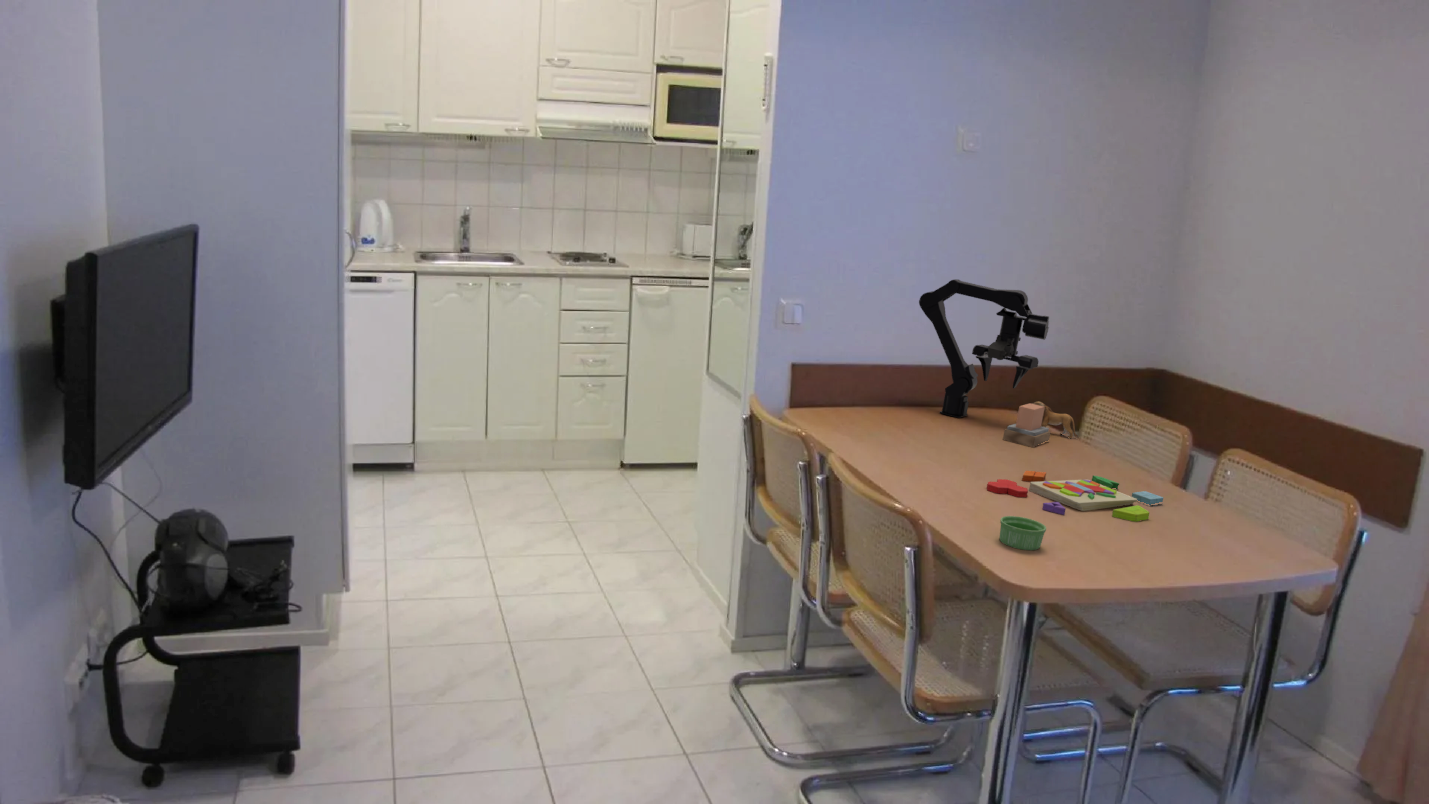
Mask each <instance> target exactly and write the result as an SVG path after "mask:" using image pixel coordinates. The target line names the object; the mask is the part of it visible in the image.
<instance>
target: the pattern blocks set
mask: <svg viewBox="0 0 1429 804" xmlns="http://www.w3.org/2000/svg"><path fill="white" fill-rule="evenodd" d="M1046 476H1047V472H1043V471H1033V470H1025V471H1024V472H1023V474H1022V478H1021V481H1022V482H1028V483H1030V484H1029V488H1028V487H1024V486H1020V485H1018V482H1017V481H1014V480H1010V479H1006V478H1005V479H1000V478H999V479H997V480H996V481H987V484H986V489H987V491H988V492H990V493H994V494H998V495H999V494H1000V495H1006V494H1007V495H1010V496H1012V497H1015V498H1028V493H1029V492H1031V493H1034V494H1036V495H1038V496H1041V497H1044V498H1047V499H1049V500H1052V501H1053V502H1052V501H1051V502H1043V503H1042V510H1043V511H1046V512H1050V513H1055V514H1058V515H1061V516H1065V514H1066V507H1064V506H1063V505H1065V506H1067V507H1070V508H1073V509H1074V510H1075V509H1076V510H1078V511H1081V512H1089V511H1095V510H1102V509H1109V508H1111V509H1112V508H1114V509H1112V512H1111V513H1112V515H1111V517H1112V518H1117V519H1122V520H1126V521H1130V522H1135V523H1137V522H1141V521H1140V520H1143V521H1147V520H1146V519H1148V520H1149V517H1150V512H1149V511H1148V510H1147V509H1146V508H1143V507H1142V506H1140V505H1134V504H1135V503H1137V502H1136V501H1137V500H1138V501H1140V502H1144V503H1146V504H1149V505H1151V504H1155V503H1159V502H1163V501H1164V497H1163V496H1160V495H1157V494H1155V493H1151V492H1149V491H1146V490H1144V491H1136V492H1131V493H1132V494H1131V496H1130V495H1128V494H1125V493H1123V492H1120V491H1119V489H1118V488H1119V486H1120V482H1116V481H1114V480H1111V479H1108V478H1105V477H1102V476H1098V475H1092V477H1091V480H1090V479H1067V480H1066V479H1064V480H1046ZM1111 488H1116V489H1118V490H1116V489H1111ZM1130 504H1132V506H1131V505H1130ZM1123 505H1125V506H1127V507H1124V506H1123ZM1129 505H1130V506H1129ZM1117 506H1118V507H1122V508H1118V507H1117ZM1116 507H1117V508H1116ZM1115 508H1116V509H1115Z"/></svg>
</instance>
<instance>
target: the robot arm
mask: <svg viewBox="0 0 1429 804" xmlns="http://www.w3.org/2000/svg"><path fill="white" fill-rule="evenodd" d="M956 294H958V295H962V296H967V297H971V298H974V299H980V300H983V301H987V302H991V303H995V304H996V305H998V306H1000V307H1002V308H1001V310H999V311H997V312H996V316H999V317H1002V320H1001V324H1000V325H1001V326H1000V331H999V334H997V335H996V339H995V340H994V341H993V342H992V343H990V344H989V345H985V344H976V345H974V346H973V348H972V352H971V354H972V355H973V356H975V358H976V359H978V361H979V362H980V365H981V370H982V375H983V376H982V377H983V381H985V382H986V381H987V380H988V378H989V375H990V369H991V367H992V361H993V359H996V360H997V361H1002V360H1006V361H1011V362H1015V363H1017V364H1018V365H1017V366H1015V370H1016V371H1015V374H1014V380H1013V383H1012V389H1016V388H1017V386H1018V385H1019V383H1020V382H1021V381H1022V378H1024V376H1025V375H1026V374H1027V372H1028V371H1029V370H1033V369H1034V368H1038V365H1039V359H1038V357H1036V356H1031V355H1027V354H1025V355H1024V354H1023V355H1018V354H1019V352H1018V345H1019V342H1021V337H1020V335H1021V331H1022V333H1023V334H1024V335H1025V337H1028V338H1029V337H1030V338H1034V339H1039V340H1043V341H1044V340H1046V339H1047V336H1048V332H1049V328H1050V327H1049V324H1050V323H1049V322H1050V321H1049V320H1050V316H1047V315H1038V314H1034V313H1033V312H1032V310H1031V308H1030V306H1029V304H1028V302H1029V298H1028V295H1027V293H1026V292H1025V291H1023V290H1019V289H997V288H993V287H989V286H986V285H985V286H984V285H980V284H976V283H972V282H968V281H963V280H960V279H951V280H949V281H947V283H945V284H944V285H942V286H940V287H939V288H936V289H935V290H932V291H928V292H924V293H923V294H921V296H920V297H919V300H918V304H919V308H920V309H921V310H922V312H923V313H924V314H925V316H926V317H927V318H928V319H929V322H931V323H932V326H933V328H934V330H935V331H936V335H937V336H938V339H939V341H940V344H941V346H942V349H943V350H944V353H945V356H946V358H947V360H948V362H949V366H950V372H951V378H952V383H951V384H949V385H948V386H947V387H945V389H944V392H945V393H944V397H943V403H942V410H939V414H941V415H946V416H950V417H953V418H958V419H960V418H964V417H967V416H968V410H969V401H968V399H969V396H968V394H969V392H970V391H972V390H974V388H976V387H977V384H978V377H979V374H978V373H977V372H976V369H975V366H974V364H973V363H970V364H969V363H967V362H966V361H965V359H964V357H963V354H962V352H961V350H960V346H959V345H958V343H957V341H956V338H955V336H954V333H953V331H952V329H951V326H950V323H949V322H948V320H947V315H946V307H945V301H947V300H948V299H950V298H952V297H953V296H954V295H956Z"/></svg>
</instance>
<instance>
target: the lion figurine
mask: <svg viewBox="0 0 1429 804" xmlns="http://www.w3.org/2000/svg"><path fill="white" fill-rule="evenodd" d="M1031 404H1035V405H1039V406H1043V407H1045V408H1044V413H1043V418H1042V424H1041V426H1042V427H1046V428H1047V425H1052V426H1059V425H1062V426H1063V432H1061V433H1062V434H1065V435H1066V434H1067V433H1068V434H1069V435H1067V437H1069V438H1072V439H1073V437H1074V436H1075V438H1079V435H1078V434H1076V431H1075V430H1076V429H1075V421H1074V418H1073V417H1072V416H1071V415H1070V414H1067V413H1056V412H1054V411H1053V410H1052V409H1051V407H1049V406H1048V405H1046V404H1045V403H1043V402H1042V401H1035V402H1032V403H1031ZM1071 427H1072V428H1071Z"/></svg>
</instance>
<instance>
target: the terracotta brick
mask: <svg viewBox="0 0 1429 804" xmlns="http://www.w3.org/2000/svg"><path fill="white" fill-rule="evenodd" d="M1044 408H1045V407H1043V406H1039V405H1035V404H1032V403H1026V404H1023V405H1020V406H1019V408H1018V412H1017V417H1016V421H1015V422H1016V423H1015V424H1016V427H1018V428H1022V429H1026V430H1030V431H1031V430H1034V429H1037V428H1040V427H1041V424H1042V418H1043V413H1044Z"/></svg>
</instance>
